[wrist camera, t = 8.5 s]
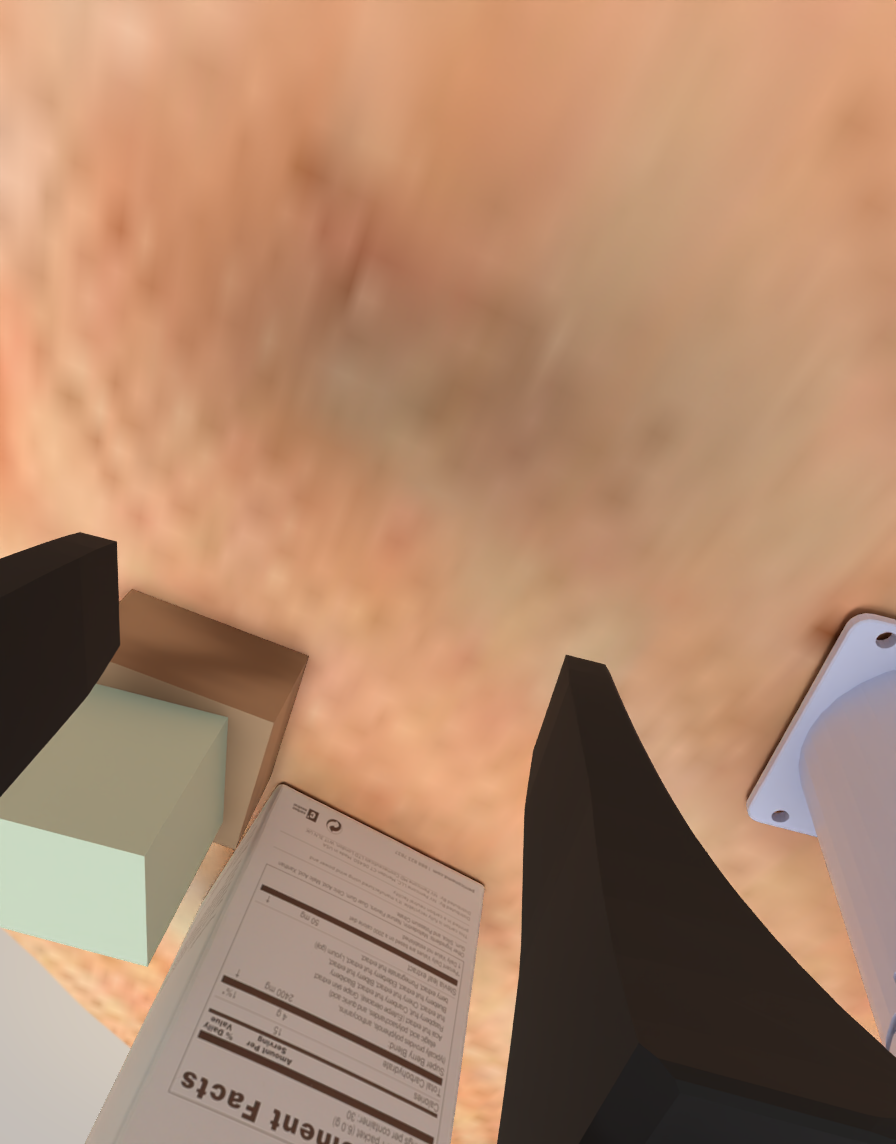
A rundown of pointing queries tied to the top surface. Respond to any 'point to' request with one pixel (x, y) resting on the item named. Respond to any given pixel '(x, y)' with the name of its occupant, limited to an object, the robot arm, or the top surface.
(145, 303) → the top surface
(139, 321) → the top surface
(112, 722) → the sage block
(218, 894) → the supplement box
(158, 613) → the walnut block
